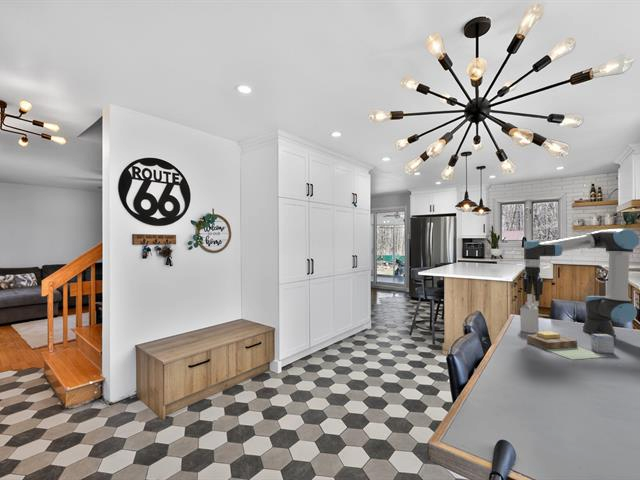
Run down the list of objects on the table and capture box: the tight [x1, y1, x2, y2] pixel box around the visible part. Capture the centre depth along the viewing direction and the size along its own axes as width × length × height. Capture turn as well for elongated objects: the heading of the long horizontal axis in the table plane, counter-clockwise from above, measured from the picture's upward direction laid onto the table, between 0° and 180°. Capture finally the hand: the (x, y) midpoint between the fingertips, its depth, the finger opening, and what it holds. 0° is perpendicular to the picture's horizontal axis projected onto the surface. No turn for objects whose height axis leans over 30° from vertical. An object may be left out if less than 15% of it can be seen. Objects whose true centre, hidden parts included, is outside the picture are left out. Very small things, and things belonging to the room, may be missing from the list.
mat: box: [546, 346, 607, 361], centre depth 161 cm, size 20×14×1 cm
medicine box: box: [590, 334, 615, 354], centre depth 164 cm, size 8×4×9 cm, turn 84°
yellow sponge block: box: [536, 330, 561, 339], centre depth 177 cm, size 9×6×2 cm, turn 99°
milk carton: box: [519, 300, 540, 334], centre depth 201 cm, size 7×7×19 cm
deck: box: [526, 333, 578, 351], centre depth 175 cm, size 18×14×4 cm
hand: (532, 305), depth 187 cm, fingers open, 4 cm apart
